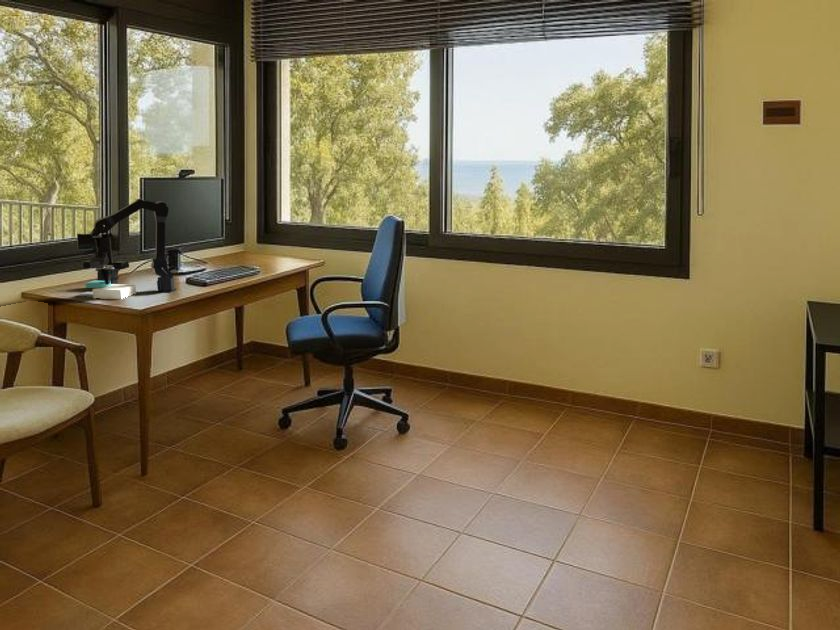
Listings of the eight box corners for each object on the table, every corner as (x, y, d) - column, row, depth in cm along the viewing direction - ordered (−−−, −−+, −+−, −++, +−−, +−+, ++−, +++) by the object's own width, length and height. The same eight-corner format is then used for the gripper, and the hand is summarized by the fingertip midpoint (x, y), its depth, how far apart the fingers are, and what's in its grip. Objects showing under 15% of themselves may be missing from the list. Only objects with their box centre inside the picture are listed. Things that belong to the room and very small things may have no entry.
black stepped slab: (99, 281, 346) (105, 254, 339) (117, 296, 341) (123, 268, 335) (92, 283, 343) (98, 255, 336) (110, 298, 338) (116, 270, 332)
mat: (107, 292, 329) (107, 292, 329) (96, 297, 321) (96, 296, 321) (87, 292, 331) (87, 291, 331) (74, 296, 322) (74, 295, 322)
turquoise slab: (111, 285, 325) (110, 280, 325) (102, 288, 320) (101, 283, 319) (95, 284, 327) (94, 280, 326) (86, 287, 321) (85, 283, 321)
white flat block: (136, 293, 328) (135, 284, 327) (121, 299, 316) (120, 290, 315) (109, 292, 330) (108, 283, 329) (93, 298, 318) (92, 289, 317)
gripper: (72, 250, 312) (76, 287, 315) (113, 251, 309) (117, 288, 312) (88, 247, 322) (92, 282, 326) (128, 248, 320) (131, 283, 323)
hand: (107, 284), depth 322 cm, fingers closed
